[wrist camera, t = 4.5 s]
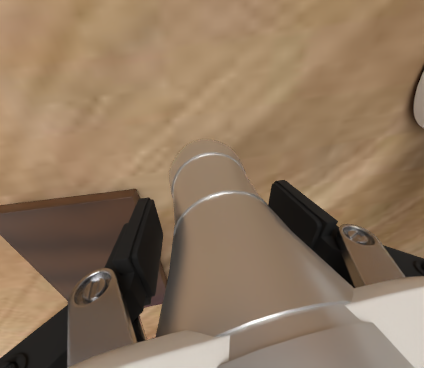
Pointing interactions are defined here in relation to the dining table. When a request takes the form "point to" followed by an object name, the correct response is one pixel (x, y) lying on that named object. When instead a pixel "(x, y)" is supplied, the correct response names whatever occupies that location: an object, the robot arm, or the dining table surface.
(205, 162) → the silver tall rounded vessel
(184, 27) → the dining table surface
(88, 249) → the serving board
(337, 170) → the dining table surface
